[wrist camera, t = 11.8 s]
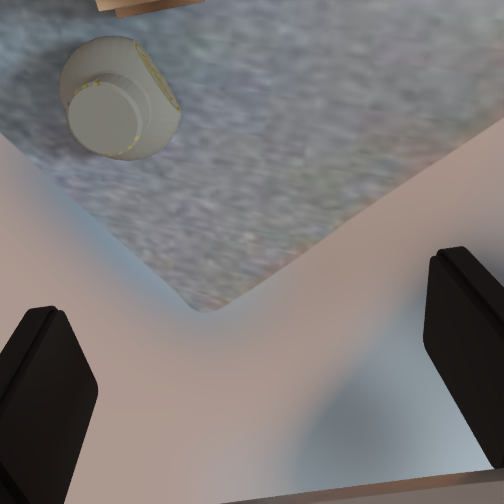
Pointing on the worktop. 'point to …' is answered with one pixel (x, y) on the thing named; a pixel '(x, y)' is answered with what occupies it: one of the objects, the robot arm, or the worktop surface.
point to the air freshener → (117, 99)
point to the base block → (152, 7)
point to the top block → (119, 3)
